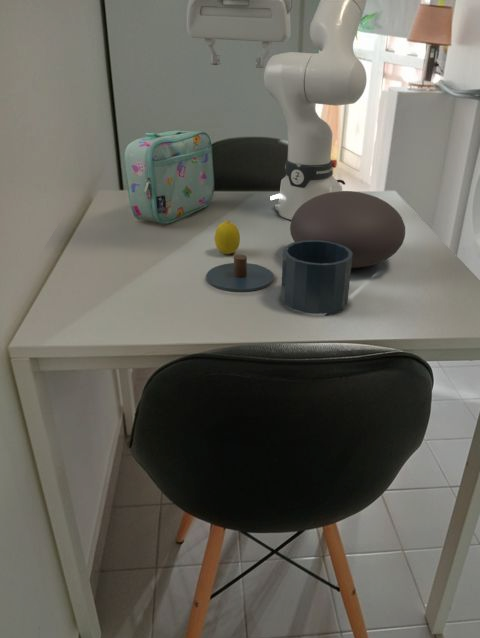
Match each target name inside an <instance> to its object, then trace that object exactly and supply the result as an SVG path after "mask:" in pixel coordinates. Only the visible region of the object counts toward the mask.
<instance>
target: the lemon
mask: <svg viewBox="0 0 480 638" xmlns="http://www.w3.org/2000/svg"><path fill="white" fill-rule="evenodd" d="M240 241H241V235H240V231H239V228H238V226H237V225H236V224H235V223H233V222H231V221H229V220H225V221H224V222H222V223H220V224H219V225H218V226H217V228H216V229H215V233H214V244H215V247H216V249H217V250H218V251H219V252H220V253H222V254H224V255H231V254H232V253H235V252H236V251H237V250H238V248H239V246H240Z"/></svg>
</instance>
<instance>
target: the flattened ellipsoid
mask: <svg viewBox="0 0 480 638" xmlns="http://www.w3.org/2000/svg"><path fill="white" fill-rule="evenodd" d="M289 225H290V226H289V230H290V237H291V238H292V240H293V243H294V242H298V241H304V240H321V241H329V242H334V243H338V244H341V245H343V246H345V247H348V248H349V249H350V250H351V251H352V252H353V255H352V265H351V269H360V268H366V267H371V266H375V265H378V264H380V263H383V262H384V261H387V260H388V259H389V258H391V257H392V256H393V255H395V254H396V253H397V252H398V251H399V250H400V248H401V247H402V245H403V243H404V241H405V237H406V225H405V222H404V219H403V217H402V216H401V214H400V213H399V212H398V210H396V208H395V207H393V206H392V205H391V204H390V203H389V202H387V201H385V200H383V199H381V198H379V197H377V196H375V195H371V194H368V193H364V192H360V191H352V190H342V191H338V192H330V193H325V194H322V195H319V196H316V197H314V198H312V199H310V200H308V201H307V202H305V203H304V204H302V205H301V206H300V207H299V208H298V209H297V211H296V212H295V214H294V215H293V217H292V220H290V224H289Z"/></svg>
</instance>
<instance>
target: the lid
mask: <svg viewBox="0 0 480 638" xmlns="http://www.w3.org/2000/svg"><path fill="white" fill-rule="evenodd" d="M274 278H275V277H274V273H273V272H272V271H271V270H270V269H269V268H267V267H266V266H262V265H259V264H255V263H248V257H247V255H245V254H236V255H234V256H233V262H229V263H224V264H219V265H216V266H214V267H212V268H211V269H209V270H208V271H207V273H206V281H207V283H208V284H209V285H210V286H212V287H214V288H216V289H219V290H222V291H228V292H235V293H246V292H247V293H249V292H255V291H260V290H262V289H266V288H267V287H269V286H270V285H272V283H273V282H274V280H275V279H274Z"/></svg>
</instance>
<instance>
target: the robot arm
mask: <svg viewBox="0 0 480 638" xmlns="http://www.w3.org/2000/svg"><path fill="white" fill-rule="evenodd" d="M367 1H368V0H319V3H318V5H317V8H316V11H315V13H314V16H313V17H312V20H311V23H310V26H309V36H310V40H311V42H312V44H313V45H314V46H315V48H316V49H318V51H319V52H317V53H315V52H297V51H289V52H283V53H277V54H274V55H272V56H271V57H270V58H269V60H268V61H267V58H268V56H269V55H270V52H271V50H272V48H273V43H286V42H288V40H289V39H290V38H291V31H292V30H291V14H290V12H291V10H292V7H293V0H188V2H187V8H186V9H187V11H186V32H187V34H188V35H189V37H190V38H191V39H204V46H205V48H206V50H207V52H208V54H209V56H210V65H211V66H220V65H222V64H221V62H222V61H221V58H222V56H221V54H217V51H216V49H215V47H214V46H215V45H216V40H226V41H246V42H247V41H248V42H261V49H263V51H262V53H261V55H260V56H258V57H256V58H255V67H256V68H258V69H264V70H263V82H264V86H265V89H266V91H267V92H268V94H269V95H270V96H271V97H272V98H273V99H274V100H275V101H276V103H277V105H278V106H279V108H280V110H281V112H282V114H283V117H284V118H285V123H286V129H287V158H286V159H285V164H284V174H285V176H284V177H283V178H282V179H281V180H280V186H279V187H280V189H279V193H277V194H273V195H271V196H270V201H273V200H277V199H278V203H276V204H274V210H275V211H277V212H278V214H279V216H280V217H282V218H284V219H287V220H290V221H291V220H292V217H293V215H294V214H295V212H296V211H297V209H298V208H299V207H300V206H301V205H302V204H304V203H305V202H307V201H308V200H310V199H312V198H314V197H316V196H319V195H322V194H325V193H330V192H338V191H343V186H342V185H345V186H346V182H345V181H344V180H343V179H336V178H335V176H334V171H333V170H334V168H337V164H338V161H337V159H331V157H332V148H333V147H332V145H333V144H332V143H333V131H332V128H331V126H330V125H329V124H328V122H326V121H325V120H324V119H322V118H321V117H320V116H319V114H318V113H317V111H316V107H315V105H317V104H318V105H325V106H335V107H336V106H338V107H339V106H345V105H352V104H353V105H354V104H356V103H357V102H358V101H359V100H360V98H361V97H362V96H363V94H364V92H365V90H366V86H367V82H368V81H367V72H366V68H365V66H364V64H363V62H362V61H361V60H359V58H358V57H357V55H356V54H355V51H354V43H355V38H356V36H357V31H358V29H359V26H360V24H361V21H362V18H363V16H364V12H365V8H366V6H367ZM340 183H341V184H340Z"/></svg>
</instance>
